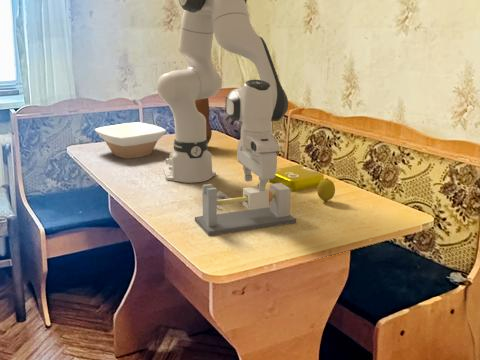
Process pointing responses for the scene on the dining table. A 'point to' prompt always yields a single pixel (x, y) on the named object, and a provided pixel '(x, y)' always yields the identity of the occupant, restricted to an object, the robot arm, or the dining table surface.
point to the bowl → (131, 138)
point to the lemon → (326, 189)
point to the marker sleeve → (256, 198)
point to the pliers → (223, 196)
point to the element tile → (297, 177)
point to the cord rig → (244, 212)
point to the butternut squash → (205, 114)
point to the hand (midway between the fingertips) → (254, 185)
